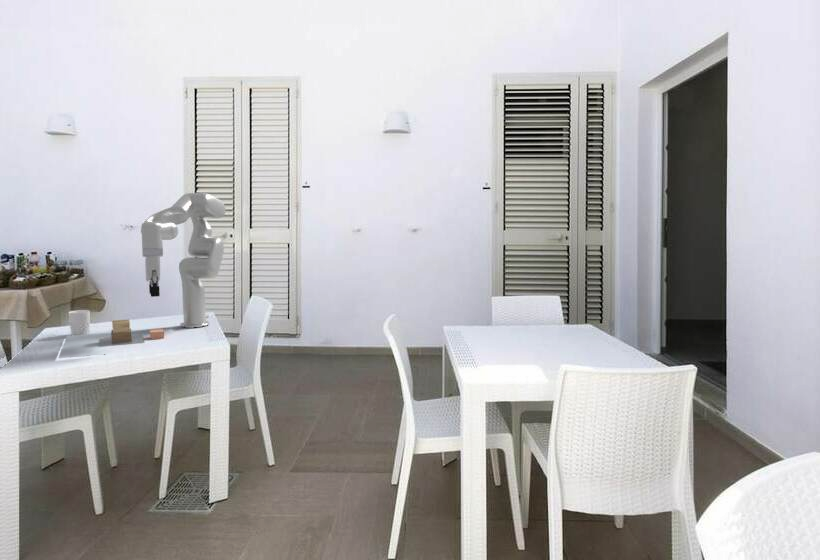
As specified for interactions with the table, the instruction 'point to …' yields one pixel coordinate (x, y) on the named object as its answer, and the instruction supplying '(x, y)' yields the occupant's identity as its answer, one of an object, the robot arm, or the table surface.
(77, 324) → the white cup
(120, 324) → the oak block
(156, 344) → the table surface
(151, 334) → the terracotta block
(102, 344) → the slate board
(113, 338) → the walnut base block
